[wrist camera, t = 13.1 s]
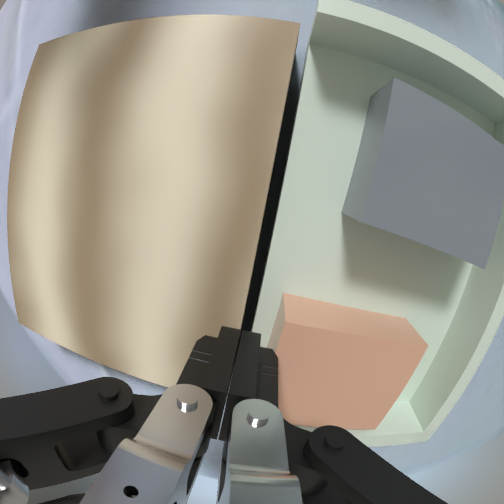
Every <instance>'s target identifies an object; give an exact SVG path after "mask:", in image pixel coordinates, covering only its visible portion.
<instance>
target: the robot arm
mask: <svg viewBox="0 0 504 504" xmlns="http://www.w3.org/2000/svg"><path fill="white" fill-rule="evenodd" d="M240 331H241V330H240V329H236V328H231V327H226V326H222V327H221V329H220V332H219V335H218V338H216V337H212V336H208V335H205V336H203V337H202V338H200V339H199V340H197V341H196V343H195V345H194V347H193V349H192V351H191V354H190V356H189V358H188V360H187V362H186V364H185V366H184V368H183V371H182V373H181V375H180V377H179V379H178V381H177V383H176V385H174V386H171V387H169V388H168V389H166V390H165V392H164V393H163V394H162V395H156V396H148V395H137V394H133V392H132V389H131V388H130V386H129V385H128V384H127V383H125V382H124V381H122V380H120V379H117V378H113V377H101V378H97V379H93V380H89V381H85V382H81V383H77V384H73V385H68V386H64V387H60V388H55V389H51V390H46V391H41V392H36V393H30V394H25V395H19V396H14V397H7V398H1V399H0V504H26V503H27V502H28V495H29V490H32V489H38V488H43V487H48V486H53V485H57V484H61V483H64V482H69V481H72V480H76V479H79V478H83V477H87V476H90V475H93V474H96V473H99V472H100V473H99V475H98V476H97V478H96V479H95V481H94V482H93V484H92V485H91V487H90V488H89V490H88V491H87V493H86V494H75V495H69V496H65V497H62V498H58V499H55V500H51V501H47V502H43V503H39V504H187V501H188V498H189V495H190V492H191V490H192V487H193V485H194V482H195V479H196V477H197V474H198V471H199V469H200V466H201V463H202V461H203V458H204V455H205V453H206V451H207V449H208V445H209V441H210V438H213V439H217V436H218V431H219V427H220V422H221V418H222V414H223V409H224V405H225V400H226V396H227V392H228V387H229V383H230V378H231V374H232V369H233V365H234V360H235V355H236V350H237V346H238V341H239V336H240ZM260 343H261V334H260V333H255V332H250V331H245V330H242V334H241V339H240V344H239V348H238V353H237V357H236V362H235V367H234V371H233V376H232V381H231V385H230V390H229V394H228V399H227V403H226V408H225V413H224V417H223V422H222V426H221V431H220V436H219V440H222V441H225V442H224V447H223V452H222V456H221V460H220V470H219V480H218V491H217V502H216V504H447V503H446V502H444V501H443V500H441V499H440V498H438V497H437V496H435V495H433V494H432V493H430V492H429V491H427V490H426V489H424V488H423V487H422V486H420V485H419V484H417V483H416V482H414V481H413V480H411V479H410V478H409V477H407V476H406V475H404V474H403V473H402V472H400V471H399V470H398V469H396V468H395V467H393V466H392V465H391V464H389V463H388V462H387V461H385V460H384V459H383V458H381V457H380V456H379V455H378V454H376V453H375V452H374V451H372V450H371V449H370V448H369V447H367V446H366V445H365V444H363V443H362V442H361V441H360V440H358V439H357V438H356V437H355V436H354V435H352V434H351V433H350V432H348V431H347V430H345V429H343V428H341V427H338V426H333V425H326V426H321V427H318V428H316V429H315V430H314V431H313V432H310V431H307V430H304V429H302V428H299V427H296V426H294V425H292V424H290V423H289V422H288V421H286V420H285V419H284V418H283V415H282V413H281V411H280V410H279V408H278V357H277V355H276V354H275V352H274V350H273V349H270V348H265V347H260Z"/></svg>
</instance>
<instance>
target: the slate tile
mask: <svg viewBox="0 0 504 504" xmlns="http://www.w3.org/2000/svg"><path fill="white" fill-rule="evenodd" d="M503 202H504V145H502V144H501V143H500V142H499V141H497V140H496V139H495V138H494V137H492V136H491V135H490V134H488V133H487V132H486V131H484V130H483V129H482V128H480V127H479V126H477V125H476V124H475V123H473V122H472V121H470V120H469V119H467V118H466V117H464V116H463V115H461V114H460V113H458V112H457V111H455V110H454V109H452V108H450V107H449V106H447V105H445V104H444V103H442V102H440V101H439V100H437V99H435V98H433V97H432V96H430V95H428V94H426V93H424V92H422V91H421V90H419V89H417V88H415V87H413V86H411V85H409V84H407V83H405V82H403V81H401V80H398V79H396V78H394V77H393V78H392V79H391V80H390V81H389V82H387V83H386V84H385V85H384V86H382V87H381V88H380V89H379V90H378V91H376V92H375V93H374V94H373V95H372V96H370V100H369V105H368V110H367V115H366V119H365V124H364V128H363V133H362V137H361V141H360V145H359V149H358V153H357V157H356V161H355V165H354V169H353V173H352V177H351V180H350V184H349V188H348V191H347V195H346V198H345V202H344V205H343V208H342V212H341V213H343V214H345V215H347V216H349V217H351V218H353V219H355V220H357V221H359V222H362V223H365V224H368V225H371V226H374V227H377V228H379V229H382V230H385V231H388V232H391V233H394V234H396V235H399V236H402V237H405V238H407V239H410V240H413V241H416V242H418V243H421V244H423V245H426V246H429V247H431V248H434V249H436V250H439V251H441V252H444V253H446V254H449V255H451V256H454V257H456V258H459V259H461V260H464V261H466V262H468V263H471V264H473V265H475V266H478V267H480V268H482V269H485V267H486V264H487V261H488V258H489V255H490V252H491V249H492V246H493V242H494V239H495V235H496V232H497V228H498V224H499V220H500V216H501V212H502V207H503Z"/></svg>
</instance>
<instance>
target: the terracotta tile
mask: <svg viewBox="0 0 504 504" xmlns="http://www.w3.org/2000/svg"><path fill="white" fill-rule="evenodd" d="M267 348H270V349H273V350H274V352H275V354H276V355H277V357H278V408H279V410H280V411H281V413H282V415H283V418H284V419H285V420H286V421H288V422H289V423H290V424H293V425H301V426H311V427H321V426H326V425H333V426H338V427H341V428H343V429H364V430H375V429H376V428H377V427H378V425H379V424H380V423H381V421H382V420H383V419H384V417H385V416H386V414H387V413H388V412H389V410H390V409H391V407H392V406H393V404H394V403H395V401H396V400H397V398H398V397H399V395H400V394H401V392H402V391H403V389H404V388H405V386H406V384H407V383H408V381H409V379H410V378H411V376H412V374H413V373H414V371H415V369H416V368H417V366H418V364H419V362H420V361H421V359H422V357H423V355H424V353H425V351H426V349H427V348H428V344H427V343H426V342H425V341H424V340H423V338H422V337H421V336H420V335H419V333H418V332H417V331H416V330H415V329H414V327H413V326H412V325H411V324H410V323H409V321H408V320H407V319H406V318H403V317H398V316H392V315H387V314H382V313H377V312H372V311H367V310H362V309H357V308H352V307H347V306H343V305H338V304H333V303H328V302H324V301H319V300H314V299H310V298H305V297H301V296H296V295H292V294H288V293H283V295H282V299H281V302H280V306H279V309H278V312H277V316H276V319H275V322H274V326H273V329H272V332H271V335H270V338H269V342H268V345H267Z"/></svg>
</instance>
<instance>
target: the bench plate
mask: <svg viewBox="0 0 504 504" xmlns="http://www.w3.org/2000/svg"><path fill="white" fill-rule="evenodd" d="M299 28H300V23H295V22H289V21H283V20H276V19H269V18H260V17H250V16H236V15H177V16H164V17H153V18H145V19H137V20H131V21H125V22H119V23H114V24H109V25H104V26H99V27H95V28H91V29H87V30H83V31H80V32H76V33H73V34H69V35H66V36H63V37H60V38H57V39H54V40H51V41H48V42H45V43H42V44H40V45H39V47H38V50H37V52H36V55H35V58H34V61H33V63H32V66H31V69H30V72H29V76H28V79H27V82H26V85H25V89H24V93H23V96H22V100H21V104H20V109H19V113H18V118H17V123H16V128H15V133H14V139H13V146H12V153H11V161H10V170H9V183H8V204H7V229H8V250H9V262H10V272H11V280H12V287H13V294H14V300H15V306H16V311H17V316H18V321H19V323H20V324H22V325H24V326H25V327H27V328H29V329H31V330H32V331H34V332H36V333H38V334H40V335H41V336H43V337H45V338H47V339H49V340H51V341H53V342H55V343H57V344H59V345H61V346H63V347H65V348H67V349H69V350H71V351H73V352H75V353H77V354H80V355H82V356H84V357H86V358H89V359H91V360H93V361H96V362H98V363H100V364H103V365H105V366H108V367H110V368H113V369H115V370H118V371H121V372H123V373H126V374H129V375H131V376H134V377H137V378H140V379H143V380H146V381H149V382H152V383H155V384H158V385H161V386H165V387H168V388H169V387H171V386H174V385H176V383H177V381H178V379H179V377H180V375H181V373H182V371H183V368H184V366H185V364H186V362H187V360H188V358H189V356H190V354H191V351H192V349H193V347H194V345H195V343H196V341H197V340H199V339H200V338H202V337H203V336H205V335H208V336H212V337H216V338H218V335H219V332H220V329H221V327H222V326H226V327H231V328H236V329H240V330H241V328H242V323H243V319H244V314H245V309H246V304H247V299H248V294H249V289H250V284H251V279H252V274H253V269H254V264H255V259H256V254H257V249H258V244H259V239H260V234H261V229H262V224H263V219H264V214H265V208H266V203H267V198H268V193H269V188H270V183H271V178H272V173H273V168H274V163H275V157H276V152H277V147H278V142H279V137H280V132H281V126H282V121H283V116H284V111H285V106H286V100H287V95H288V90H289V85H290V80H291V74H292V69H293V64H294V58H295V53H296V47H297V40H298V34H299ZM240 333H241V331H240ZM239 338H240V336H239ZM238 343H239V341H238ZM237 348H238V346H237ZM236 353H237V350H236ZM235 358H236V355H235ZM234 363H235V360H234ZM233 368H234V365H233ZM232 372H233V369H232ZM231 376H232V374H231ZM230 381H231V378H230ZM229 385H230V383H229ZM228 390H229V387H228ZM227 394H228V392H227ZM226 398H227V396H226ZM225 402H226V400H225Z"/></svg>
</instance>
